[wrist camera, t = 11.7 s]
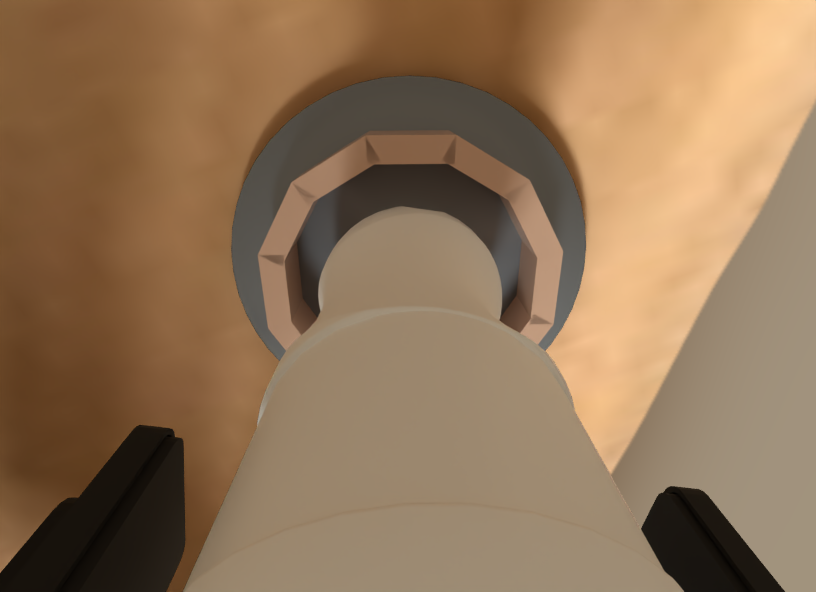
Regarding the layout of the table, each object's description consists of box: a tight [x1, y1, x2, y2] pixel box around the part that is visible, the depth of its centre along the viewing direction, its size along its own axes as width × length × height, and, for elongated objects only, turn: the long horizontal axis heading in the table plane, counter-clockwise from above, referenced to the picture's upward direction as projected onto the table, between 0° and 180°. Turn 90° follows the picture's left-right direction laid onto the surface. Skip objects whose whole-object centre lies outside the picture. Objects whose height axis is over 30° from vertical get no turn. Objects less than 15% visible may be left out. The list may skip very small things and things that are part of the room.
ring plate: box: [231, 76, 586, 361], centre depth 20 cm, size 16×16×4 cm
